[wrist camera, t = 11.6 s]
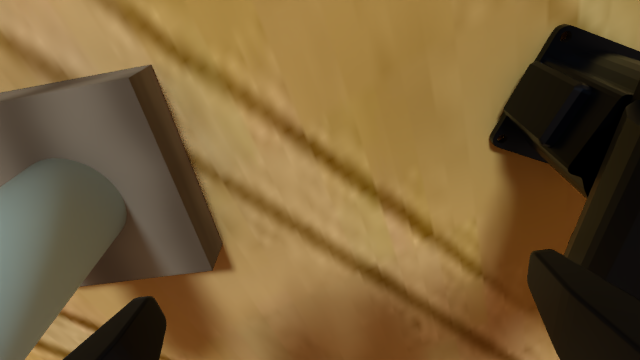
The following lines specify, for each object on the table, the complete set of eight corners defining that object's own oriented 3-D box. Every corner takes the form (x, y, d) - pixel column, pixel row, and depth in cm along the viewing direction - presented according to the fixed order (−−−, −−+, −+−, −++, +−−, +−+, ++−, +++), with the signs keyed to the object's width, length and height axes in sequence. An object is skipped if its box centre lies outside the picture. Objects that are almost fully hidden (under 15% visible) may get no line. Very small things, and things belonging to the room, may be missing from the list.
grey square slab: (151, 64, 19) (128, 77, 17) (222, 243, 25) (212, 270, 23) (-54, 103, 21) (-99, 119, 18) (59, 264, 27) (36, 291, 24)
